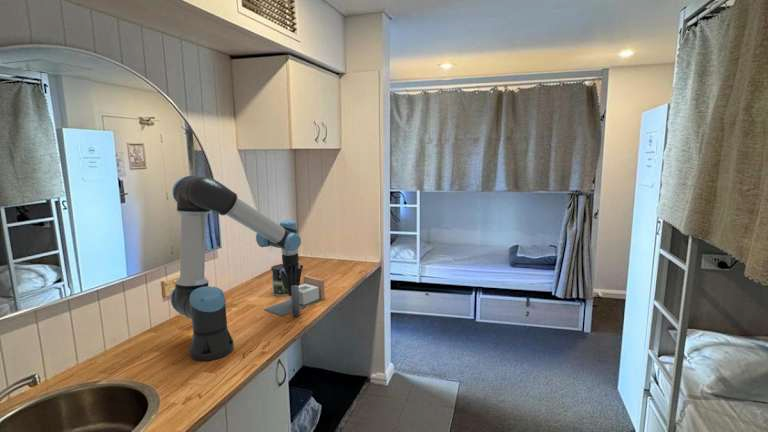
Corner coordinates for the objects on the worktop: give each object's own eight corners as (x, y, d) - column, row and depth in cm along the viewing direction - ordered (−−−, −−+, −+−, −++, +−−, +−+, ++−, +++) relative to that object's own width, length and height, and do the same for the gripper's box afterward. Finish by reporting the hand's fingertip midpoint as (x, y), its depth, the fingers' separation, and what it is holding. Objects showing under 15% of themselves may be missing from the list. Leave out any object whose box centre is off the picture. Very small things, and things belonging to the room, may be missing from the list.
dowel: (295, 318, 182) (294, 287, 180) (291, 316, 184) (289, 286, 182) (301, 315, 184) (299, 285, 182) (296, 314, 186) (295, 284, 184)
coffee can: (296, 292, 214) (295, 266, 212) (278, 297, 208) (276, 270, 205) (287, 288, 222) (285, 262, 220) (269, 292, 215) (267, 266, 213)
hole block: (303, 304, 195) (303, 292, 194) (290, 300, 201) (289, 288, 200) (319, 298, 203) (318, 287, 202) (305, 294, 209) (305, 283, 208)
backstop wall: (321, 300, 203) (320, 280, 201) (304, 294, 211) (303, 276, 209) (324, 299, 204) (323, 279, 203) (307, 293, 212) (306, 275, 211)
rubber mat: (281, 316, 184) (281, 315, 184) (264, 309, 192) (264, 309, 192) (324, 299, 204) (324, 298, 204) (307, 293, 212) (307, 293, 212)
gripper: (283, 257, 185) (287, 307, 189) (306, 251, 195) (308, 299, 199) (273, 255, 189) (276, 304, 193) (295, 249, 200) (298, 295, 203)
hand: (293, 301), depth 196 cm, fingers closed
